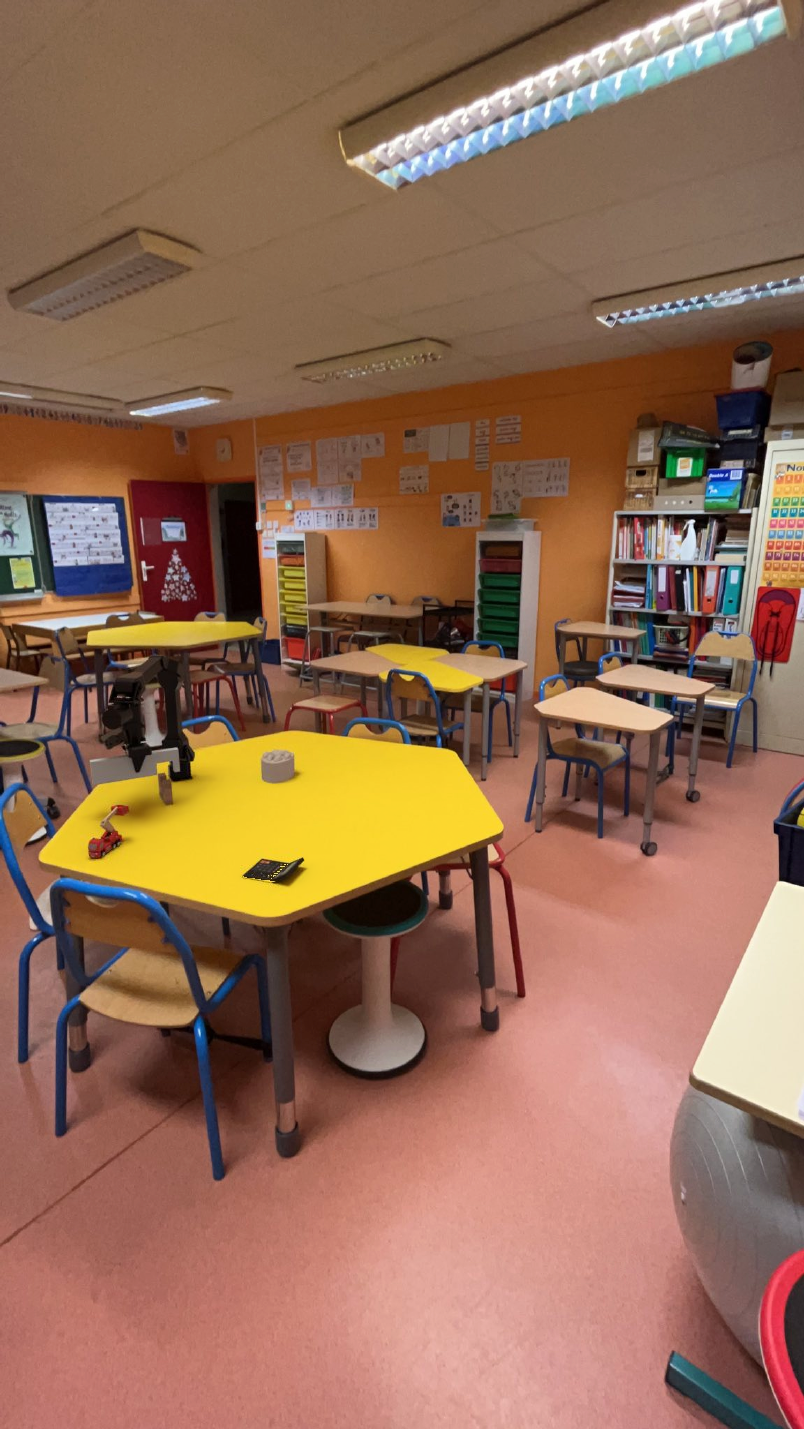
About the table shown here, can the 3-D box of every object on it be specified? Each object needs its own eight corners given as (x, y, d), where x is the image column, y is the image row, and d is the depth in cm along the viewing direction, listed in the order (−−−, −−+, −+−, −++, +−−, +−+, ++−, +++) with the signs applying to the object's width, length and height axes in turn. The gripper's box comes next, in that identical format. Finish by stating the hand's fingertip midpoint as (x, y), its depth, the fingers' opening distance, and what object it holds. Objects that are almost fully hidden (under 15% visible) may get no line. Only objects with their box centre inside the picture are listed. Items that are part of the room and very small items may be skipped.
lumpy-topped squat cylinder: (297, 771, 229) (296, 748, 226) (286, 784, 216) (286, 759, 214) (268, 770, 230) (267, 746, 228) (256, 782, 217) (255, 757, 215)
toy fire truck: (87, 858, 161) (83, 822, 159) (120, 836, 174) (117, 802, 172) (99, 860, 161) (95, 823, 158) (132, 837, 174) (129, 803, 171)
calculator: (261, 861, 162) (261, 850, 162) (304, 868, 159) (304, 857, 158) (242, 878, 154) (242, 867, 153) (287, 886, 150) (287, 874, 150)
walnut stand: (159, 794, 204) (157, 773, 203) (165, 793, 205) (164, 772, 204) (166, 805, 196) (164, 783, 194) (173, 804, 197) (171, 782, 195)
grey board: (178, 769, 198) (176, 747, 196) (179, 771, 197) (178, 749, 195) (92, 783, 186) (89, 760, 184) (93, 785, 184) (90, 762, 183)
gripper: (96, 716, 190) (102, 766, 194) (106, 732, 175) (112, 786, 179) (137, 711, 196) (141, 760, 200) (149, 726, 181) (154, 779, 185)
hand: (136, 771), depth 191 cm, fingers closed on grey board, 2 cm apart
